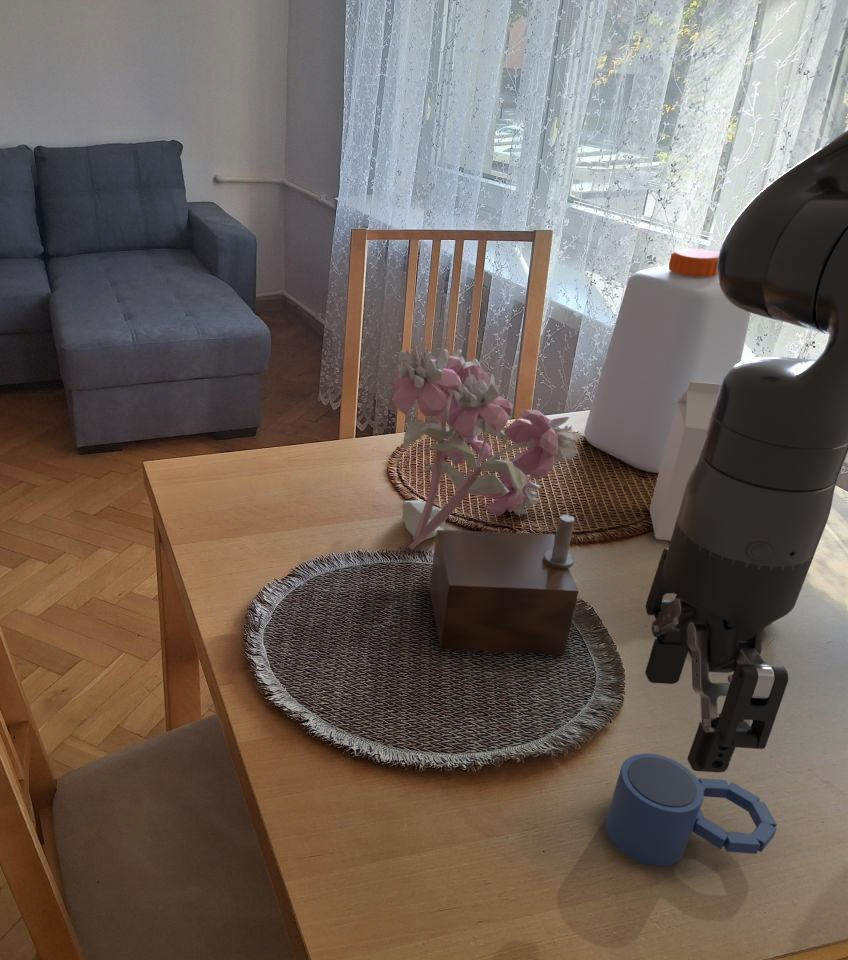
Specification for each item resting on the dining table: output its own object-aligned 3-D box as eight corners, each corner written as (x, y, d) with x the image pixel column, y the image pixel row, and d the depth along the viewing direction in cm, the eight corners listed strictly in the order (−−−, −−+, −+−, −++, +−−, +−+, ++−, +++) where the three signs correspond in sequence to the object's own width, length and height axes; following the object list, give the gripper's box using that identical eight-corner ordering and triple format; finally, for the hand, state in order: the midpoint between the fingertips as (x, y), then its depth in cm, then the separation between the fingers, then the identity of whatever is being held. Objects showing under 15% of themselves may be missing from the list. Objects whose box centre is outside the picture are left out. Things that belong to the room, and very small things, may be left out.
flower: (561, 595, 91) (619, 363, 89) (352, 544, 96) (402, 324, 94) (538, 567, 111) (585, 376, 108) (365, 526, 116) (407, 343, 113)
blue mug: (740, 812, 68) (762, 757, 66) (775, 878, 63) (800, 823, 60) (595, 801, 70) (610, 748, 67) (618, 866, 64) (635, 811, 62)
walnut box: (548, 595, 94) (569, 492, 87) (571, 656, 85) (596, 547, 79) (429, 590, 95) (441, 488, 89) (440, 649, 86) (454, 541, 80)
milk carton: (721, 549, 101) (768, 400, 91) (654, 539, 103) (694, 393, 93) (711, 518, 106) (754, 376, 97) (648, 510, 109) (685, 370, 99)
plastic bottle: (655, 482, 115) (709, 275, 101) (569, 438, 127) (607, 247, 113) (733, 458, 120) (794, 258, 106) (644, 418, 132) (689, 234, 118)
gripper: (876, 600, 46) (785, 807, 54) (758, 474, 59) (698, 657, 67) (729, 593, 47) (660, 798, 55) (644, 471, 60) (597, 652, 67)
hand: (681, 721), depth 61 cm, fingers open, 8 cm apart
